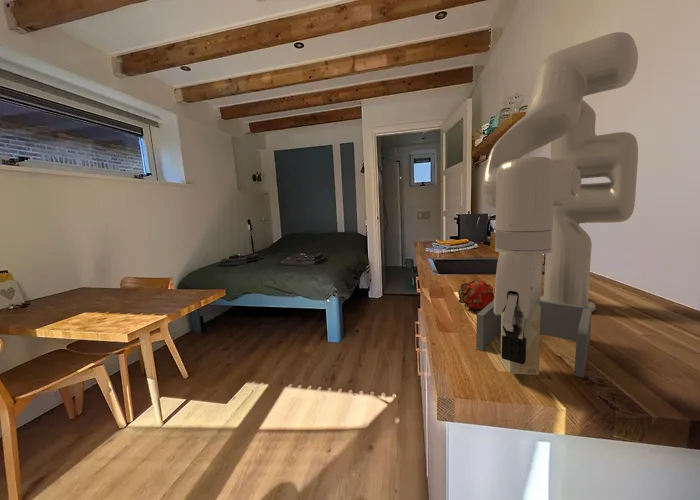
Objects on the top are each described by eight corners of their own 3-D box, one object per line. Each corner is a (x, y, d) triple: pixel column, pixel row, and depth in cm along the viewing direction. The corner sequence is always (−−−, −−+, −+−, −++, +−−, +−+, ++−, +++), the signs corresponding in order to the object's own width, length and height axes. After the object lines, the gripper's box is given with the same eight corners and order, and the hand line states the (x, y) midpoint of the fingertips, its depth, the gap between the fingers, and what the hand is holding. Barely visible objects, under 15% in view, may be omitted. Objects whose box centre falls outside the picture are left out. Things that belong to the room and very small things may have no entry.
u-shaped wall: (499, 323, 69) (500, 294, 68) (589, 341, 58) (591, 307, 57) (476, 349, 57) (476, 314, 56) (583, 377, 46) (586, 335, 45)
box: (539, 376, 45) (542, 306, 44) (509, 374, 46) (511, 305, 44) (526, 359, 50) (528, 296, 49) (499, 357, 51) (500, 295, 50)
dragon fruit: (457, 318, 77) (486, 315, 84) (483, 306, 71) (511, 303, 77) (445, 288, 81) (473, 287, 87) (468, 274, 75) (496, 274, 81)
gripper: (509, 235, 54) (507, 328, 57) (478, 247, 41) (476, 367, 44) (559, 236, 49) (554, 338, 52) (540, 250, 36) (535, 385, 39)
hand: (518, 350), depth 48 cm, fingers closed on box, 6 cm apart
